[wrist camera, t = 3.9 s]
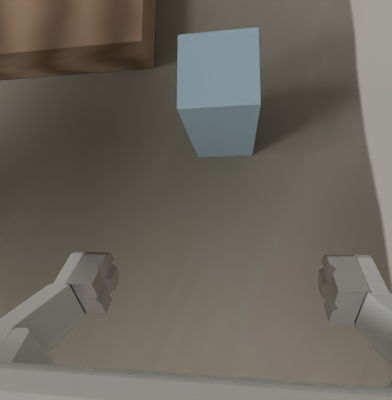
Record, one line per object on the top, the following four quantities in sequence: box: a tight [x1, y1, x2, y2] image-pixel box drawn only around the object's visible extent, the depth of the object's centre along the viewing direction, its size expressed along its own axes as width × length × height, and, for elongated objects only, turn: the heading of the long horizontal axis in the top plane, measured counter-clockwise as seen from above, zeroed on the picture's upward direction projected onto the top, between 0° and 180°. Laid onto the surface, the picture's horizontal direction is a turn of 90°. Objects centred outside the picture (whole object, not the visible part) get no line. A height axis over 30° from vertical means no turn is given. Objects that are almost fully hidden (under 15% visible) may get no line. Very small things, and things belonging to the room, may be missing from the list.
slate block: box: [177, 27, 261, 157], centre depth 23 cm, size 5×5×10 cm
